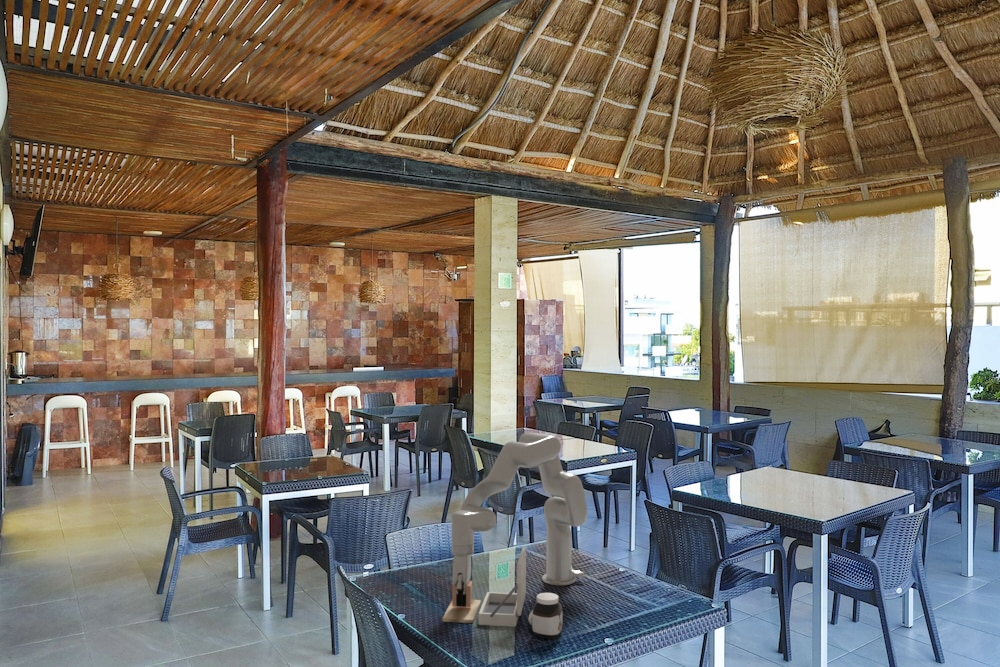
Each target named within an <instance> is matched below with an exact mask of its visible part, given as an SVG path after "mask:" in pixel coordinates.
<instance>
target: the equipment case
mask: <svg viewBox="0 0 1000 667" xmlns="http://www.w3.org/2000/svg"><path fill="white" fill-rule="evenodd" d="M520 550H521V552H520V555H519V557H518V562H517V564H516V584H515V586H514V587H513V588H512V589H511V590H510V592H495V591H494V592H493V591H486V594H485V596H484V599H483V602H482V603H481V605H480V606H481V607H480V609H479V612H478V625H481V626H497V627H498V626H503V627H517V624H518V619H519V617H521V615H522V611H523V607H524V604H525V599H526V595H527V582H526V581H527V547H526V546H522V548H521V549H520ZM515 591H516V593H515Z"/></svg>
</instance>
